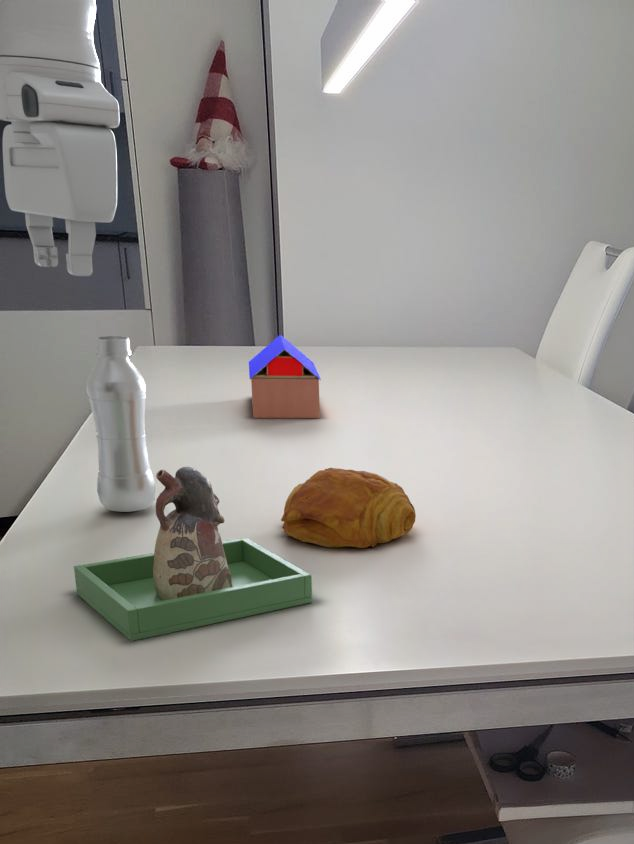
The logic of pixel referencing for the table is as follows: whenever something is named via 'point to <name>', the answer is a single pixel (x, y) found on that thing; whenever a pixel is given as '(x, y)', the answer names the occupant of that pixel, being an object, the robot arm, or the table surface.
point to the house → (284, 382)
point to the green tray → (150, 615)
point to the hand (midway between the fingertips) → (62, 270)
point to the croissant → (347, 509)
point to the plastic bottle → (120, 427)
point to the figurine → (188, 538)
